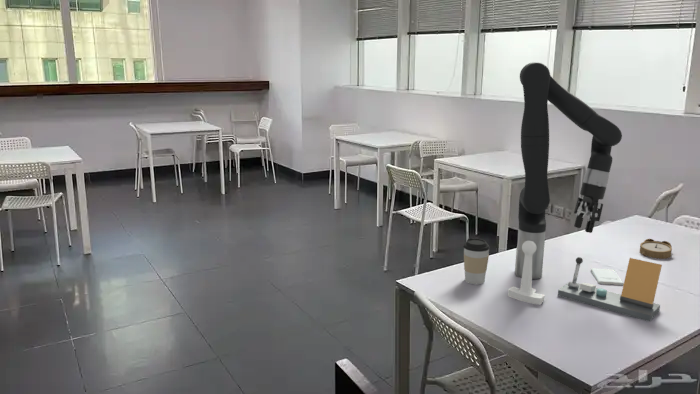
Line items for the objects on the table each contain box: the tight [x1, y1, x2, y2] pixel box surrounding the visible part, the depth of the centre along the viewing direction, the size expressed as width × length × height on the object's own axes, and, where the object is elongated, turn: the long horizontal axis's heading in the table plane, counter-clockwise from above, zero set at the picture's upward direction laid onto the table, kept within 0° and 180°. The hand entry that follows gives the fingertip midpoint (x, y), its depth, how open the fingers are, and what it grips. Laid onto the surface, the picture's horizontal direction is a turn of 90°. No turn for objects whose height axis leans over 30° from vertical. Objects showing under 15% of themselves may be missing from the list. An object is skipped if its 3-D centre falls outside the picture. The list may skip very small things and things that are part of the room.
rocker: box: [579, 282, 597, 292], centre depth 181 cm, size 4×4×2 cm
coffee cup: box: [462, 237, 490, 285], centre depth 194 cm, size 9×9×15 cm
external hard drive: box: [590, 267, 624, 286], centre depth 198 cm, size 2×8×12 cm
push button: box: [596, 287, 608, 297], centre depth 178 cm, size 3×3×2 cm
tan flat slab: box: [620, 257, 663, 309], centre depth 171 cm, size 9×2×14 cm, turn 47°
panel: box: [557, 280, 661, 322], centre depth 177 cm, size 28×10×2 cm, turn 47°
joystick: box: [507, 241, 546, 306], centre depth 179 cm, size 11×8×20 cm
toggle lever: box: [567, 256, 584, 289], centre depth 184 cm, size 3×2×10 cm
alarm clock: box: [639, 238, 673, 260], centre depth 223 cm, size 11×5×15 cm
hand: (582, 229), depth 189 cm, fingers open, 8 cm apart
